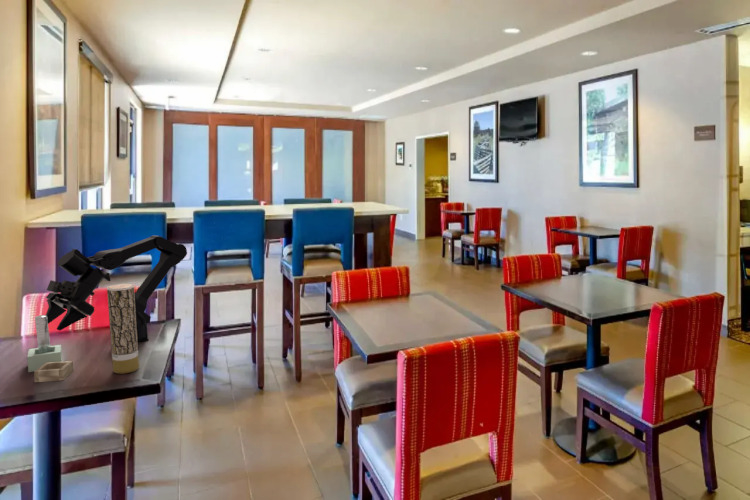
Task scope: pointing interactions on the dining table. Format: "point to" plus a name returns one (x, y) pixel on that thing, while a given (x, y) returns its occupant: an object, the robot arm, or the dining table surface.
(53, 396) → the dining table surface
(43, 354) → the socket block
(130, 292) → the wooden log
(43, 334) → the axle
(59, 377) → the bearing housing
